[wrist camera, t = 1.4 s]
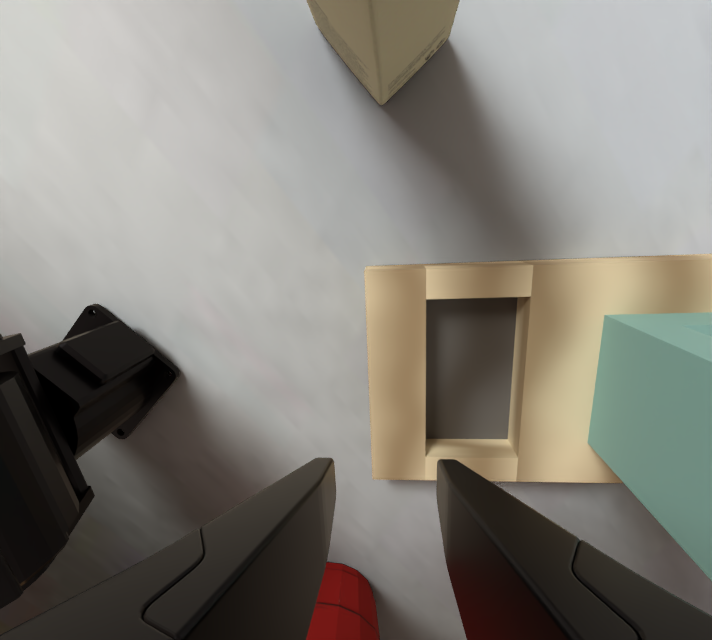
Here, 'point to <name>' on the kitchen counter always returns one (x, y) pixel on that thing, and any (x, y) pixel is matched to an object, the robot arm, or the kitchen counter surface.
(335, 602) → the plastic cup
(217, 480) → the kitchen counter surface
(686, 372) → the teal L-block
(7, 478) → the robot arm
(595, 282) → the birch board
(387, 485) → the kitchen counter surface
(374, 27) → the box
